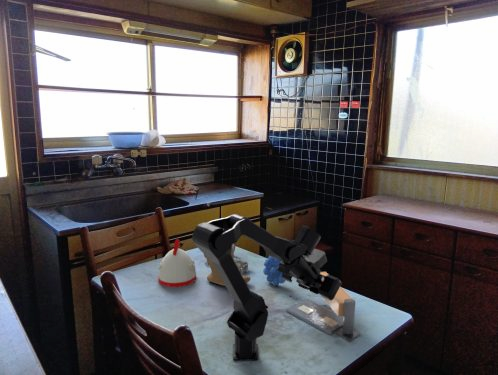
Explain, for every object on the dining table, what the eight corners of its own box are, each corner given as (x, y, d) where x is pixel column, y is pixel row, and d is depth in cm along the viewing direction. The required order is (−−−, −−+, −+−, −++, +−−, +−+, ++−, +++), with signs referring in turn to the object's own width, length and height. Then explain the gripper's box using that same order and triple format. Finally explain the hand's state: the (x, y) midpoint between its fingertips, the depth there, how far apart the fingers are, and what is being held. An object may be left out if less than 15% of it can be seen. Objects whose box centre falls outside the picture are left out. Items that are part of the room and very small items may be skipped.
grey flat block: (360, 335, 107) (360, 333, 107) (350, 341, 104) (350, 339, 104) (345, 327, 111) (345, 325, 111) (335, 334, 108) (335, 332, 107)
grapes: (295, 286, 136) (296, 255, 134) (282, 292, 132) (283, 260, 129) (271, 276, 145) (272, 246, 142) (259, 281, 140) (259, 251, 138)
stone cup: (198, 283, 139) (197, 244, 136) (220, 272, 148) (220, 235, 145) (229, 295, 130) (229, 254, 127) (251, 283, 139) (251, 244, 136)
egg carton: (218, 269, 152) (218, 259, 151) (231, 263, 158) (231, 254, 157) (238, 276, 145) (238, 266, 144) (251, 270, 151) (251, 260, 150)
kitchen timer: (198, 271, 149) (197, 235, 146) (192, 287, 135) (191, 247, 133) (163, 271, 149) (162, 234, 146) (154, 286, 136) (152, 247, 133)
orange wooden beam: (358, 333, 106) (360, 303, 104) (342, 335, 105) (343, 304, 103) (324, 293, 129) (325, 268, 127) (310, 295, 128) (311, 269, 126)
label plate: (350, 322, 113) (351, 318, 113) (330, 335, 107) (330, 331, 107) (307, 301, 126) (307, 297, 126) (286, 311, 119) (286, 307, 119)
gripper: (339, 252, 104) (359, 279, 113) (289, 235, 118) (311, 260, 127) (319, 287, 100) (342, 312, 109) (270, 266, 114) (294, 289, 123)
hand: (321, 291), depth 117 cm, fingers closed
